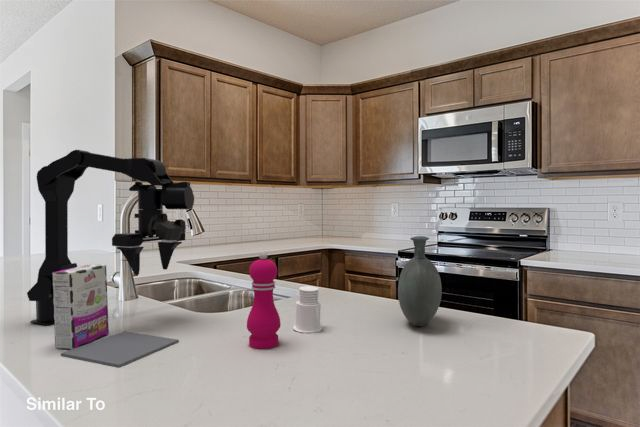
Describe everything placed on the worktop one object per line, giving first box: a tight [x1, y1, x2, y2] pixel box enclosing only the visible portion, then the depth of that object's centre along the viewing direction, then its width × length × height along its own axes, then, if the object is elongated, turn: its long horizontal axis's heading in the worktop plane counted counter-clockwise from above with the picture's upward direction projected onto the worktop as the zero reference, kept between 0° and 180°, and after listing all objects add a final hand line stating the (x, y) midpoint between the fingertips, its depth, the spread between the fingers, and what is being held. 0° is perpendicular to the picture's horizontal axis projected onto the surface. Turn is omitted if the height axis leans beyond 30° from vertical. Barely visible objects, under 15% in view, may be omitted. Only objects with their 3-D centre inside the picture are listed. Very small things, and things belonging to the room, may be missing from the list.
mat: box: [60, 330, 180, 368], centre depth 92 cm, size 16×16×1 cm
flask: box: [397, 235, 443, 327], centre depth 109 cm, size 12×17×22 cm
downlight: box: [292, 285, 323, 334], centre depth 106 cm, size 8×7×10 cm
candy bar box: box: [52, 263, 110, 350], centre depth 97 cm, size 11×5×16 cm, turn 168°
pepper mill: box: [246, 251, 281, 350], centre depth 95 cm, size 7×7×20 cm
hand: (151, 272), depth 110 cm, fingers open, 9 cm apart
